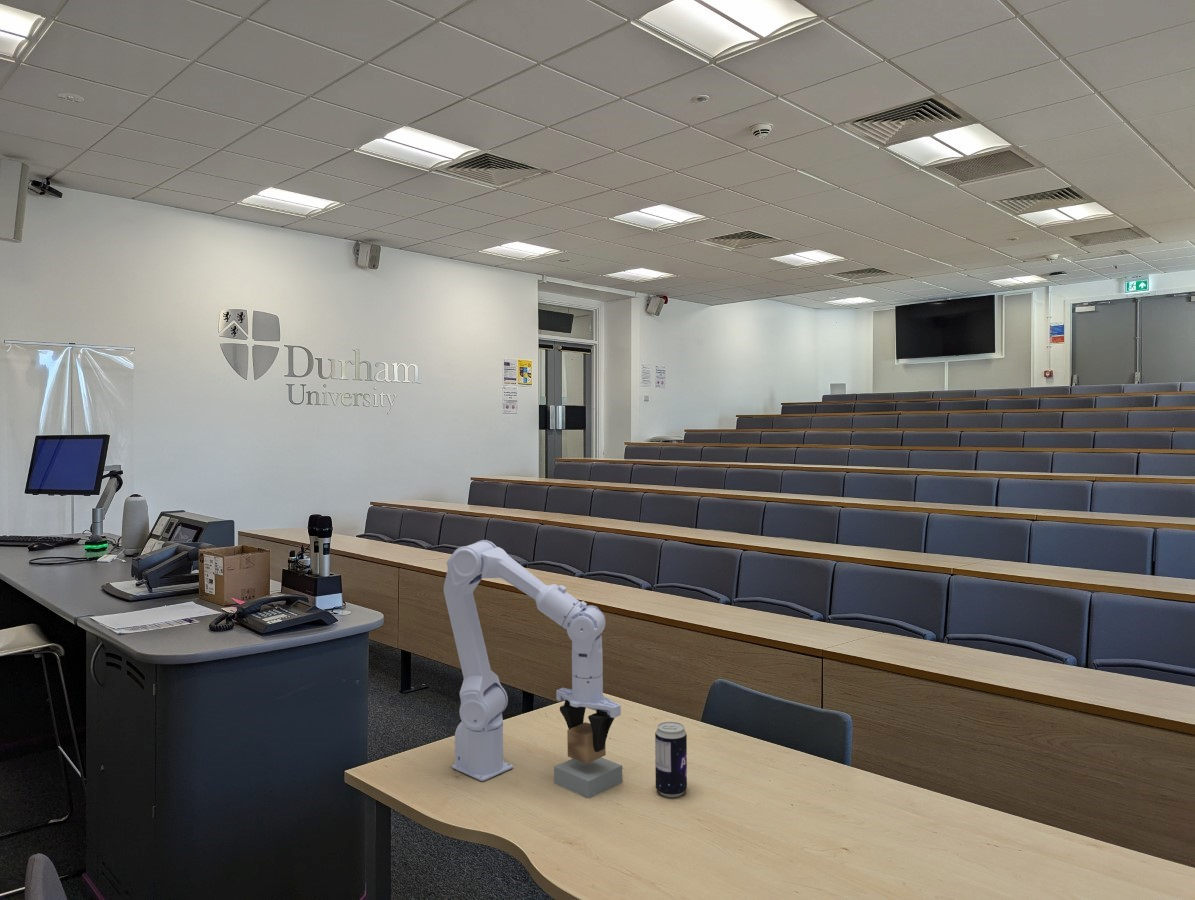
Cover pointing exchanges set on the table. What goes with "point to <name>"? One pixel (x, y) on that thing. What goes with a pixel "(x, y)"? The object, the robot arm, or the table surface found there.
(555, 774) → the grey block
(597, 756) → the walnut cube
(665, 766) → the beverage can
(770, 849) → the table surface
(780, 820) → the table surface
